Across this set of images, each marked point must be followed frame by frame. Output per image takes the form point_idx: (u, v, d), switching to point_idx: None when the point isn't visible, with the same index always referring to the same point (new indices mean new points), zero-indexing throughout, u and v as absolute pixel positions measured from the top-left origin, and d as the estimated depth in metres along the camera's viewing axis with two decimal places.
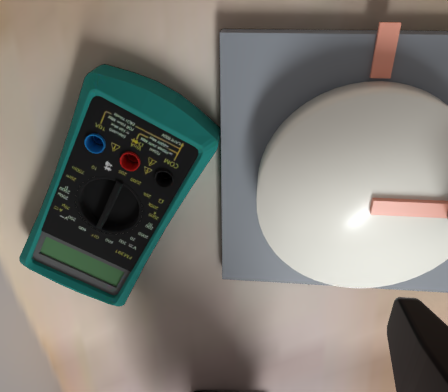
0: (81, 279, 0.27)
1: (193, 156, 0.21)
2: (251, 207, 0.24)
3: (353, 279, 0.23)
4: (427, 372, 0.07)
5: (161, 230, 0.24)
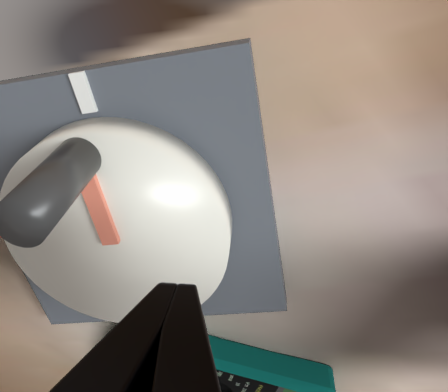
0: None
1: None
2: None
3: (213, 233, 0.19)
4: None
5: (221, 365, 0.26)
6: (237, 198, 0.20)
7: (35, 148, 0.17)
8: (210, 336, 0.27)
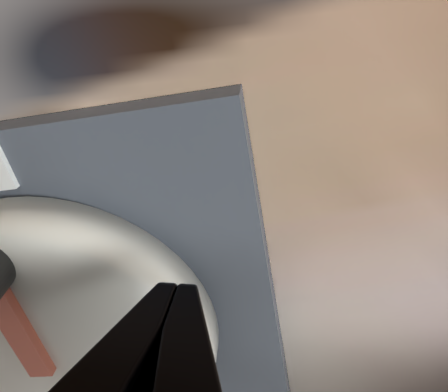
0: None
1: None
2: None
3: None
4: None
5: None
6: (225, 301, 0.14)
7: None
8: None
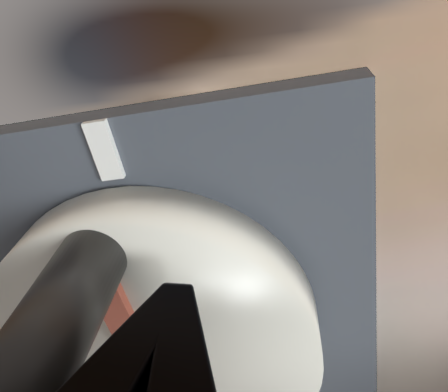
0: None
1: None
2: None
3: (300, 354, 0.12)
4: None
5: None
6: (325, 294, 0.14)
7: (23, 246, 0.11)
8: None
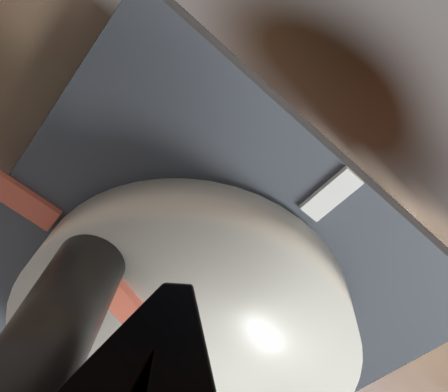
0: None
1: None
2: None
3: (328, 318, 0.11)
4: None
5: None
6: None
7: (27, 266, 0.11)
8: None
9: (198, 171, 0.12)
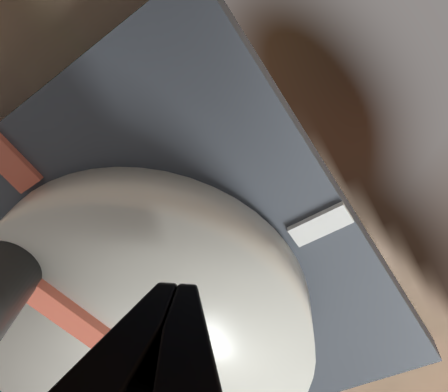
0: None
1: None
2: None
3: (255, 285, 0.11)
4: None
5: None
6: None
7: None
8: None
9: (198, 171, 0.12)
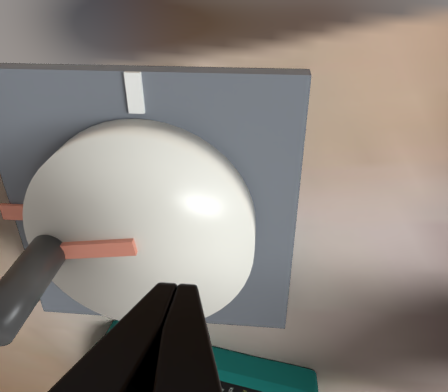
0: None
1: None
2: None
3: (109, 150, 0.17)
4: None
5: None
6: (263, 217, 0.21)
7: None
8: None
9: (71, 134, 0.19)
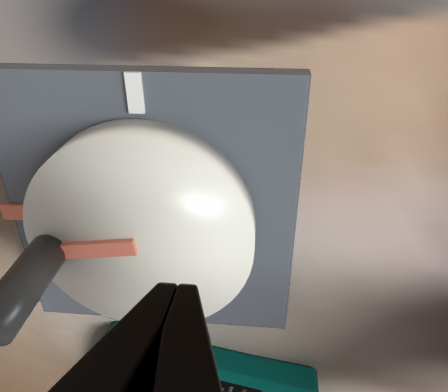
0: None
1: None
2: None
3: (109, 150, 0.17)
4: None
5: None
6: (263, 217, 0.21)
7: None
8: None
9: (71, 134, 0.19)
